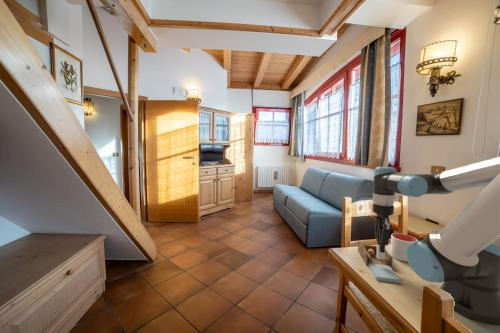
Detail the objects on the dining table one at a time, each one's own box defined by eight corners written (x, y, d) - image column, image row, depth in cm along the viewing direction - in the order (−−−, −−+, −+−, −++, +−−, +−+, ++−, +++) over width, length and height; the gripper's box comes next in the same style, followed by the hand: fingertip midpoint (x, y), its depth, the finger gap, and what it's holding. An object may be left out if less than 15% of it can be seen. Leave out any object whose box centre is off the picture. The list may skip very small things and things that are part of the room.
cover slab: (399, 284, 80) (399, 279, 80) (376, 281, 82) (376, 276, 82) (389, 270, 90) (389, 265, 90) (368, 267, 92) (368, 263, 92)
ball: (375, 257, 99) (375, 250, 99) (368, 256, 100) (368, 250, 100) (373, 254, 102) (373, 248, 102) (366, 253, 103) (367, 247, 103)
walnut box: (391, 269, 90) (392, 257, 89) (366, 265, 92) (366, 254, 92) (380, 253, 103) (380, 243, 103) (357, 251, 106) (358, 241, 105)
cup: (422, 263, 94) (423, 242, 93) (399, 263, 94) (400, 241, 93) (405, 252, 104) (407, 233, 103) (385, 252, 104) (386, 233, 103)
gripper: (400, 208, 80) (397, 267, 82) (387, 200, 93) (384, 252, 95) (378, 207, 82) (375, 265, 84) (368, 199, 95) (366, 250, 97)
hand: (380, 258), depth 89 cm, fingers closed
